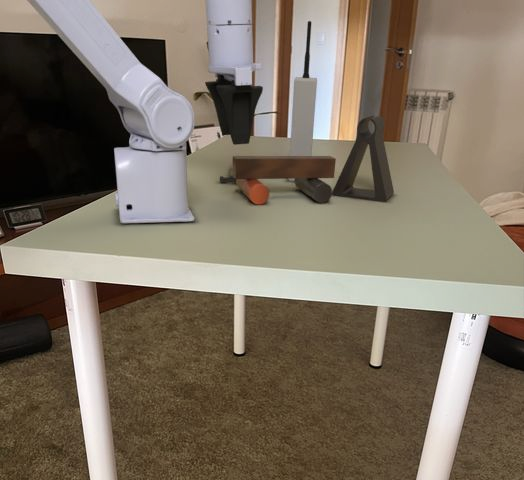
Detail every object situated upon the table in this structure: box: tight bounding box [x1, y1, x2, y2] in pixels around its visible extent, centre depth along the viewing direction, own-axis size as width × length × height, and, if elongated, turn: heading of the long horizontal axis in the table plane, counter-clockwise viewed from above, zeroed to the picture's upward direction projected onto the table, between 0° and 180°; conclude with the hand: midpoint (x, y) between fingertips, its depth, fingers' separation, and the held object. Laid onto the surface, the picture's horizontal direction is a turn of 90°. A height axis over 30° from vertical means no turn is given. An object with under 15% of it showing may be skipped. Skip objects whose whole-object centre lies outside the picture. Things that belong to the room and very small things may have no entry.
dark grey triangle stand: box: [332, 115, 395, 203], centre depth 89 cm, size 9×6×12 cm, turn 66°
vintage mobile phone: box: [287, 20, 318, 183], centre depth 96 cm, size 4×5×25 cm
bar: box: [231, 155, 337, 180], centre depth 87 cm, size 16×2×3 cm, turn 104°
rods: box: [235, 178, 333, 206], centre depth 88 cm, size 13×10×3 cm
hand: (235, 139), depth 77 cm, fingers open, 7 cm apart
